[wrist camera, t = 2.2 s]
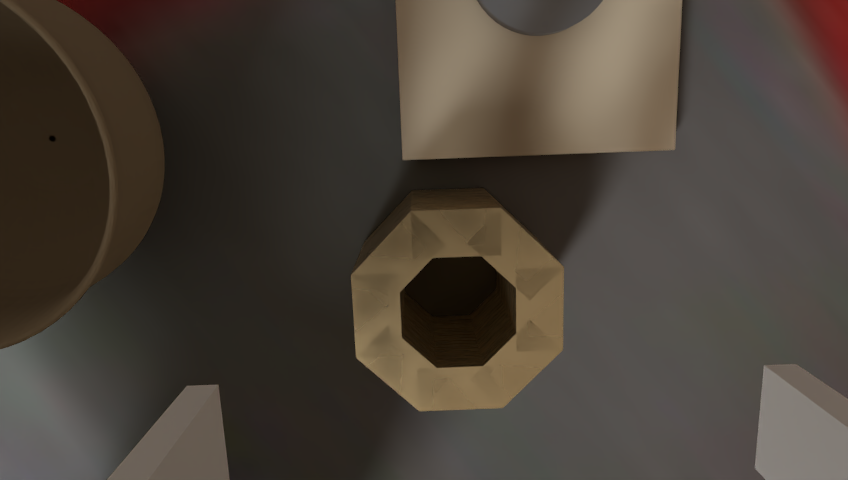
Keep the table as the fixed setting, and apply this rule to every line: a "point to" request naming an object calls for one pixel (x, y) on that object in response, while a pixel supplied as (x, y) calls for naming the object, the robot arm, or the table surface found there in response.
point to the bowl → (68, 162)
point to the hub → (537, 76)
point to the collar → (467, 334)
